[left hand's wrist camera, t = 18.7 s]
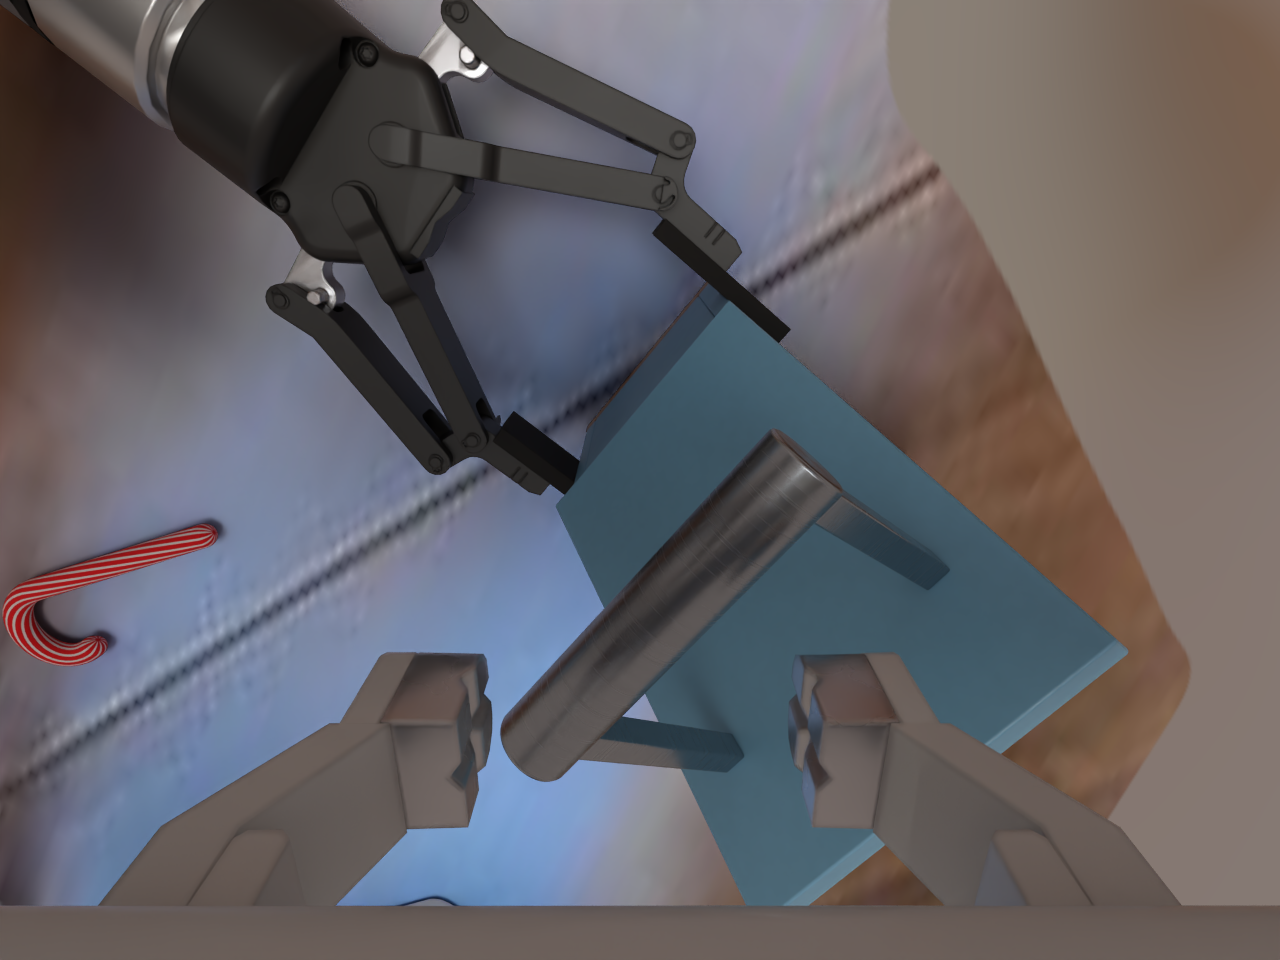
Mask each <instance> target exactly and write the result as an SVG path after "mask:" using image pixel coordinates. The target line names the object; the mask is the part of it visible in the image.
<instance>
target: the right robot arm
mask: <svg viewBox="0 0 1280 960" xmlns="http://www.w3.org/2000/svg"><path fill="white" fill-rule="evenodd" d="M0 5H2V6H3V7H4V8H6V9H7V10H8V11H10V12H11V13H12V14H14V15H15V16H16V17H18V18H19V19H20V20H22V21H23V22H24V23H26V24H27V25H28V26H30V27H31V28H33V29H34V30H35V31H36V32H37V33H39V34H40V35H41V36H43V37H44V38H45V39H46V40H48V41H49V42H50V43H52V44H53V45H55V46H56V47H57V48H59V49H60V50H61V51H62V52H64V53H65V54H66V55H68V56H69V57H70V58H71V59H73V60H74V61H75V62H77V63H78V64H79V65H81V66H82V67H83V68H84V69H86V70H87V71H88V72H90V73H91V74H92V75H93V76H95V77H96V78H97V79H99V80H100V81H101V82H103V83H104V84H105V85H106V86H108V87H109V88H110V89H112V90H113V91H114V92H116V93H117V94H118V95H119V96H121V97H122V98H123V99H125V100H126V101H127V102H128V103H130V104H131V105H132V106H134V107H135V108H136V109H138V110H139V111H140V112H141V113H143V114H144V115H145V116H147V117H148V118H149V119H151V120H152V121H153V122H154V123H156V124H157V125H158V126H160V127H163V128H166V129H169V130H172V131H174V132H175V133H176V135H177V137H178V139H179V140H180V141H181V142H182V143H183V144H184V145H185V146H186V147H188V148H189V149H190V150H192V151H193V152H194V153H196V154H197V155H198V156H200V157H201V158H202V159H203V160H205V161H206V162H207V163H209V164H210V165H211V166H213V167H214V168H215V169H217V170H218V171H219V172H221V173H222V174H223V175H224V176H226V177H227V178H228V179H230V180H231V181H232V182H234V183H235V184H236V185H238V186H239V187H240V188H241V189H243V190H244V191H245V192H247V193H248V194H249V195H251V196H252V197H253V198H255V199H256V200H257V201H259V202H260V203H261V204H263V205H264V206H265V207H267V208H268V209H270V210H271V211H273V212H274V213H275V214H277V215H278V216H279V217H280V218H282V219H283V220H284V222H285V223H286V224H287V225H288V226H289V228H290V229H291V231H292V232H293V234H294V236H295V238H296V240H297V242H298V243H299V245H300V246H301V250H300V252H299V254H298V256H297V258H296V260H295V262H294V264H293V266H292V268H291V270H290V272H289V274H288V276H287V278H286V280H285V282H284V283H281V284H276V285H273V286H271V287H270V288H269V289H268V290H267V292H266V296H265V297H266V303H267V305H268V306H269V308H270V309H271V310H272V311H273V312H274V313H276V314H277V315H279V316H280V317H282V318H283V319H285V320H287V321H288V322H290V323H291V324H293V325H294V326H296V327H298V328H299V329H301V330H302V331H304V332H305V333H307V334H308V335H310V336H312V337H313V338H314V339H315V340H316V341H317V343H318V344H319V345H320V346H321V347H322V349H323V350H324V351H325V352H326V353H327V354H328V356H329V357H330V358H331V359H332V360H333V361H334V363H335V364H336V365H337V366H338V367H339V368H340V370H341V371H342V372H343V373H344V374H345V375H346V377H347V378H348V379H349V380H350V381H351V383H352V384H353V385H354V386H355V387H356V388H357V390H358V391H359V392H360V393H361V394H362V395H363V397H364V398H365V399H366V400H367V401H368V402H369V404H370V405H371V406H372V407H373V408H374V409H375V411H376V412H377V413H378V414H379V415H380V417H381V418H382V419H383V420H384V421H385V422H386V424H387V425H388V426H389V427H390V428H391V429H392V431H393V432H394V433H395V434H396V435H397V436H398V438H399V439H400V440H401V441H402V442H403V443H404V445H405V446H406V447H407V448H408V449H409V451H410V452H411V453H412V454H413V455H414V456H415V458H416V459H417V460H418V461H419V462H420V463H421V465H422V466H423V467H424V468H425V469H426V470H427V471H428V472H429V473H432V474H434V475H441V474H443V473H445V472H446V471H447V470H448V469H449V468H450V467H452V466H454V465H456V464H457V463H459V462H461V461H462V460H464V459H466V458H468V457H479V458H482V459H484V460H485V461H487V462H488V463H490V464H491V465H492V466H494V467H495V468H497V469H498V470H499V471H501V472H502V473H503V474H505V475H506V476H508V477H509V478H511V479H512V480H513V481H514V482H516V483H518V484H519V485H520V486H521V487H523V488H524V489H525V490H527V491H528V492H531V493H534V494H538V495H541V494H542V493H543V492H544V490H545V489H546V488H547V487H548V486H549V484H551V485H552V486H553V487H555V488H556V489H558V490H559V491H560V492H562V493H563V494H564V495H565V494H566V493H567V492H568V491H569V489H570V488H571V487H572V486H573V485H574V482H575V478H576V474H577V469H578V465H579V460H578V459H576V458H575V457H574V456H572V455H571V454H570V453H568V452H567V451H566V450H564V449H563V448H562V447H561V446H559V445H558V444H557V443H555V442H554V441H553V440H551V439H550V438H549V437H547V436H546V435H545V434H543V433H542V432H541V431H539V430H538V429H537V428H535V427H534V426H533V425H531V424H530V423H529V422H527V421H526V420H525V419H523V418H522V417H521V416H520V415H518V414H517V413H516V412H514V411H513V413H512V414H511V415H510V416H509V418H508V419H507V420H506V422H505V423H504V424H503V426H500V422H501V418H500V415H499V416H497V417H496V418H495V415H494V413H493V411H492V409H491V407H490V405H489V403H488V401H487V398H486V396H485V394H484V392H483V390H482V388H481V386H480V384H479V382H478V379H477V377H476V375H475V373H474V371H473V369H472V367H471V365H470V362H469V360H468V358H467V356H466V354H465V352H464V350H463V348H462V346H461V343H460V341H459V339H458V337H457V335H456V333H455V331H454V329H453V327H452V324H451V322H450V320H449V318H448V316H447V314H446V312H445V310H444V307H443V305H442V303H441V301H440V299H439V297H438V295H437V293H436V290H435V282H434V279H433V276H432V274H431V272H430V270H429V268H428V265H427V263H426V261H425V259H426V258H427V257H431V256H433V255H434V254H435V252H436V251H437V249H438V248H439V246H440V245H441V243H442V242H443V239H444V236H445V233H446V230H447V227H448V224H449V222H450V221H451V220H452V219H454V218H455V217H456V216H457V215H458V214H460V213H461V212H462V211H463V210H464V209H465V208H466V206H467V205H468V203H469V202H470V200H471V199H472V197H473V196H474V193H473V192H472V190H473V186H474V178H475V179H481V180H486V181H492V182H497V183H503V184H509V185H515V186H520V187H526V188H531V189H537V190H542V191H548V192H553V193H559V194H564V195H570V196H575V197H581V198H586V199H592V200H597V201H603V202H608V203H614V204H620V205H625V206H631V207H636V208H642V209H647V210H653V211H655V212H656V213H657V214H658V215H659V216H660V217H662V218H663V220H662V221H661V222H660V224H659V225H658V226H657V228H656V229H655V230H654V231H653V233H652V234H653V235H654V236H655V237H656V238H657V239H658V240H660V241H661V242H662V243H663V244H664V245H665V246H666V247H668V248H669V249H670V250H671V251H672V252H673V253H674V254H676V255H677V256H678V257H679V258H680V259H681V260H682V261H684V262H685V263H686V264H687V265H688V266H689V267H690V268H692V269H693V270H694V271H695V272H696V273H697V274H698V275H700V276H701V277H702V278H703V279H704V280H705V281H706V282H708V283H709V284H710V285H711V286H712V287H713V288H714V289H716V290H717V291H718V292H719V293H720V294H721V295H722V296H724V297H725V298H726V299H727V300H730V301H731V302H732V303H733V304H734V305H735V306H736V307H738V308H739V309H740V310H741V311H742V312H743V313H744V314H746V315H747V316H748V317H749V318H750V319H751V320H752V321H754V322H755V323H756V324H757V325H758V326H759V327H760V328H762V329H763V330H764V331H765V332H766V333H767V334H768V335H770V336H771V337H772V338H773V339H774V340H775V341H776V342H778V343H779V342H780V341H781V340H782V339H783V338H784V337H785V335H786V334H787V333H788V332H789V331H790V330H791V329H790V328H789V327H788V326H786V325H785V324H784V323H783V322H782V321H781V320H780V319H779V318H777V317H776V316H775V315H774V314H773V313H772V312H771V311H770V310H768V309H767V308H766V307H765V306H764V305H763V304H762V303H761V302H759V301H758V300H757V299H756V298H755V297H754V296H753V295H752V294H750V293H749V292H748V291H747V290H746V289H745V288H744V287H743V286H741V285H740V284H739V283H738V282H737V281H736V280H735V279H734V278H732V277H731V276H730V275H729V274H728V273H727V272H726V271H727V270H728V269H729V268H730V266H731V265H732V264H733V263H734V262H735V260H736V259H737V258H738V257H739V256H740V254H741V253H742V251H741V249H740V247H739V245H738V243H737V240H736V239H735V238H734V237H733V236H732V235H730V234H729V233H728V232H727V231H726V230H725V229H724V228H723V227H722V226H721V225H719V224H718V223H717V222H716V221H715V220H714V219H713V218H712V217H711V216H709V215H708V214H707V213H706V212H705V211H704V210H703V209H702V208H701V207H700V206H698V205H697V204H696V203H695V202H694V201H693V200H692V199H691V198H690V197H689V196H688V195H687V193H686V191H685V187H684V176H685V172H686V169H687V167H688V164H689V161H690V158H691V155H692V152H693V149H694V148H695V143H696V137H695V133H694V131H693V129H692V128H691V127H690V126H689V125H688V124H686V123H684V122H682V121H680V120H678V119H676V118H674V117H672V116H670V115H668V114H666V113H664V112H662V111H660V110H658V109H656V108H654V107H652V106H649V105H647V104H645V103H643V102H641V101H639V100H637V99H635V98H633V97H631V96H629V95H627V94H625V93H623V92H621V91H619V90H617V89H615V88H613V87H611V86H608V85H606V84H604V83H602V82H600V81H598V80H596V79H594V78H592V77H590V76H588V75H586V74H584V73H582V72H580V71H578V70H576V69H574V68H572V67H570V66H567V65H565V64H563V63H561V62H559V61H557V60H555V59H553V58H551V57H549V56H547V55H545V54H543V53H541V52H539V51H537V50H535V49H533V48H531V47H528V46H526V45H524V44H522V43H520V42H518V41H516V40H514V39H512V38H510V37H508V36H507V35H506V34H505V33H504V32H503V31H502V30H501V29H500V28H499V27H498V26H497V25H496V24H495V23H494V22H493V21H492V20H491V19H490V18H489V17H488V16H487V15H486V14H485V13H484V12H483V11H482V10H481V9H480V8H479V7H478V6H477V5H476V4H475V2H474V1H473V0H443V2H442V4H441V15H442V18H443V21H444V22H443V23H442V24H441V26H440V27H439V29H438V30H437V31H436V33H435V34H434V36H433V37H432V38H431V40H430V41H429V43H428V44H427V45H426V47H425V48H424V50H423V51H422V52H421V54H420V55H419V57H416V56H412V55H407V54H402V53H399V52H396V51H394V50H392V49H390V48H389V47H388V46H386V45H385V44H384V43H383V42H382V41H381V40H379V39H378V38H377V37H376V36H375V35H374V34H372V33H371V32H370V31H369V30H368V29H367V28H365V27H364V26H363V25H362V24H361V23H360V22H358V21H357V20H356V19H355V18H354V17H353V16H351V15H350V14H349V13H348V12H347V11H346V10H344V9H343V8H342V7H341V6H340V5H339V4H337V3H336V2H335V1H334V0H0ZM493 72H494V73H495V74H496V75H497V76H498V77H500V78H501V79H502V80H504V81H505V82H507V83H508V84H509V85H511V86H513V87H515V88H517V89H518V90H520V91H522V92H524V93H527V94H529V95H531V96H533V97H535V98H537V99H539V100H541V101H543V102H545V103H548V104H550V105H552V106H554V107H556V108H558V109H560V110H562V111H564V112H566V113H568V114H571V115H573V116H575V117H577V118H579V119H581V120H583V121H585V122H587V123H589V124H592V125H594V126H596V127H598V128H600V129H602V130H604V131H606V132H608V133H610V134H612V135H615V136H617V137H619V138H621V139H623V140H625V141H627V142H629V143H631V144H633V145H636V146H638V147H640V148H642V149H644V150H646V151H648V152H650V153H652V154H654V155H657V158H656V161H655V164H654V167H653V170H652V173H651V174H648V173H642V172H637V171H631V170H626V169H620V168H615V167H610V166H604V165H599V164H593V163H588V162H582V161H577V160H572V159H566V158H561V157H555V156H550V155H544V154H539V153H534V152H528V151H523V150H517V149H512V148H506V147H501V146H496V145H493V144H488V143H484V142H478V141H473V140H467V139H464V137H463V134H462V131H461V127H460V124H459V121H458V118H457V115H456V112H455V109H454V105H453V102H452V99H451V96H450V93H449V90H448V87H447V84H446V83H447V81H448V80H449V79H451V78H452V77H455V76H463V77H466V78H468V79H469V80H471V81H473V82H476V83H481V82H484V81H486V80H488V79H489V78H490V76H491V75H492V74H493ZM333 262H336V263H351V264H364V265H365V267H366V269H367V271H368V273H369V275H370V277H371V279H372V281H373V283H374V285H375V287H376V289H377V291H378V293H379V295H380V296H381V298H382V299H383V301H384V302H385V303H386V304H388V305H389V306H390V307H391V309H392V310H393V312H394V314H395V316H396V318H397V320H398V322H399V324H400V326H401V328H402V330H403V332H404V334H405V336H406V338H407V340H408V342H409V344H410V346H411V348H412V350H413V352H414V354H415V356H416V358H417V360H418V362H419V364H420V366H421V368H422V370H423V372H424V374H425V376H426V378H427V380H428V382H429V384H430V386H431V388H432V390H433V392H434V394H435V396H436V398H437V400H438V402H439V404H440V406H441V408H442V410H443V412H444V414H445V416H446V418H447V420H448V421H447V420H446V419H445V418H444V417H443V415H442V414H441V413H440V412H439V410H438V409H437V408H436V407H435V406H434V404H433V403H432V402H431V401H430V399H429V398H428V397H427V396H426V395H425V393H424V392H423V391H422V390H421V388H420V387H419V386H418V385H417V384H416V382H415V381H414V380H413V379H412V377H411V376H410V375H409V374H408V373H407V371H406V370H405V369H404V368H403V366H402V365H401V364H400V363H399V362H398V360H397V359H396V358H395V357H394V355H393V354H392V353H391V352H390V351H389V349H388V348H387V347H386V346H385V344H384V343H383V342H382V341H381V340H380V338H379V337H378V336H377V335H376V333H375V332H374V331H373V330H372V329H371V327H370V326H369V325H368V324H367V322H366V321H365V320H364V319H363V318H362V317H361V316H360V315H359V314H358V313H357V312H356V311H355V310H354V309H353V308H352V307H351V306H350V305H348V304H347V303H346V302H344V301H345V291H344V289H343V287H342V286H341V284H340V283H339V282H338V281H337V280H336V279H335V277H334V275H333V272H332V265H333ZM448 422H449V423H448Z"/></svg>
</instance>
